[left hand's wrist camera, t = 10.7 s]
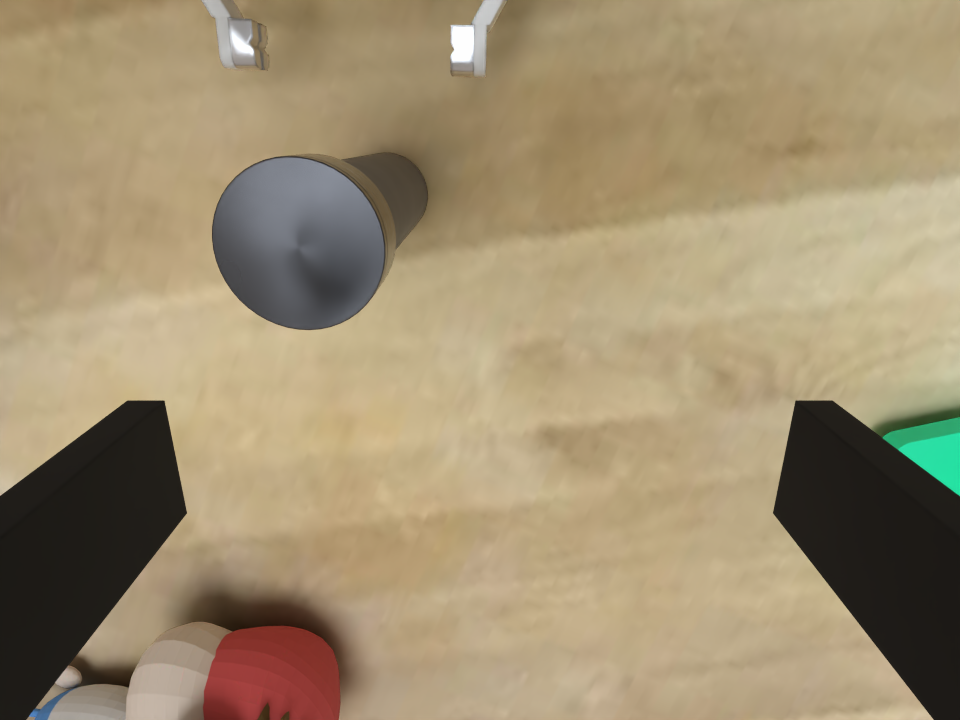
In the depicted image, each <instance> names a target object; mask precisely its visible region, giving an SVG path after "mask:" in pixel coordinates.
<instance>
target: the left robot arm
mask: <svg viewBox="0 0 960 720" xmlns="http://www.w3.org/2000/svg"><path fill="white" fill-rule="evenodd" d="M186 514H187V511H186V506H185V501H184V496H183V491H182V486H181V481H180V476H179V471H178V466H177V461H176V456H175V451H174V446H173V441H172V436H171V431H170V426H169V421H168V416H167V411H166V406H165V401H126V402H125V403H124V404H122V405H121V406H120V407H118V408H117V409H116V410H114V411H113V412H112V413H110V414H109V415H108V416H106V417H105V418H104V419H102V420H101V421H100V422H98V423H97V424H96V425H94V426H93V427H92V428H90V429H89V430H88V431H86V432H85V433H84V434H82V435H81V436H80V437H78V438H77V439H76V440H74V441H73V442H72V443H70V444H69V445H68V446H66V447H65V448H64V449H62V450H61V451H60V452H58V453H57V454H56V455H54V456H53V457H52V458H50V459H49V460H48V461H46V462H45V463H44V464H42V465H41V466H40V467H38V468H37V469H36V470H34V471H33V472H32V473H30V474H29V475H28V476H26V477H25V478H24V479H22V480H21V481H20V482H18V483H17V484H16V485H14V486H13V487H12V488H10V489H9V490H8V491H6V492H5V493H4V494H2V495H1V496H0V720H26V719H27V718H28V717H29V715H30V714H31V713H32V712H33V710H34V709H35V708H36V706H37V705H38V704H39V703H40V701H41V700H42V699H43V697H44V696H45V695H46V694H47V692H48V691H49V690H50V688H51V687H52V686H53V685H54V683H55V682H56V681H57V679H58V678H59V677H60V676H61V674H62V673H63V672H64V670H65V669H66V668H67V667H68V665H69V664H70V663H71V661H72V660H73V659H74V658H75V656H76V655H77V654H78V652H79V651H80V650H81V649H82V647H83V646H84V645H85V643H86V642H87V641H88V640H89V638H90V637H91V636H92V634H93V633H94V632H95V631H96V629H97V628H98V627H99V625H100V624H101V623H102V622H103V620H104V619H105V618H106V616H107V615H108V614H109V613H110V611H111V610H112V609H113V607H114V606H115V605H116V604H117V602H118V601H119V600H120V598H121V597H122V596H123V595H124V593H125V592H126V591H127V590H128V588H129V587H130V586H131V584H132V583H133V582H134V581H135V579H136V578H137V577H138V575H139V574H140V573H141V572H142V570H143V569H144V568H145V566H146V565H147V564H148V563H149V561H150V560H151V559H152V557H153V556H154V555H155V554H156V552H157V551H158V550H159V548H160V547H161V546H162V545H163V543H164V542H165V541H166V539H167V538H168V537H169V536H170V534H171V533H172V532H173V530H174V529H175V528H176V527H177V525H178V524H179V523H180V521H181V520H182V519H183V518H184V516H185V515H186ZM773 514H774V515H775V516H776V518H777V519H778V520H779V521H780V523H781V524H782V525H783V527H784V528H785V529H786V530H787V532H788V533H789V534H790V536H791V537H792V538H793V539H794V541H795V542H796V543H797V545H798V546H799V547H800V548H801V550H802V551H803V552H804V554H805V555H806V556H807V557H808V559H809V560H810V561H811V563H812V564H813V565H814V566H815V568H816V569H817V570H818V572H819V573H820V574H821V575H822V577H823V578H824V579H825V581H826V582H827V583H828V584H829V586H830V587H831V588H832V590H833V591H834V592H835V593H836V595H837V596H838V597H839V598H840V600H841V601H842V602H843V604H844V605H845V606H846V607H847V609H848V610H849V611H850V613H851V614H852V615H853V616H854V618H855V619H856V620H857V622H858V623H859V624H860V625H861V627H862V628H863V629H864V631H865V632H866V633H867V634H868V636H869V637H870V638H871V640H872V641H873V642H874V643H875V645H876V646H877V647H878V649H879V650H880V651H881V652H882V654H883V655H884V656H885V658H886V659H887V660H888V661H889V663H890V664H891V665H892V667H893V668H894V669H895V670H896V672H897V673H898V674H899V676H900V677H901V678H902V679H903V681H904V682H905V683H906V685H907V686H908V687H909V688H910V690H911V691H912V692H913V694H914V695H915V696H916V697H917V699H918V700H919V701H920V703H921V704H922V705H923V706H924V708H925V709H926V710H927V712H928V713H929V714H930V715H931V717H932V718H933V719H934V720H960V496H959V495H958V494H956V493H955V492H954V491H952V490H951V489H950V488H948V487H947V486H946V485H944V484H943V483H942V482H940V481H939V480H938V479H936V478H935V477H934V476H932V475H931V474H930V473H928V472H927V471H926V470H924V469H923V468H922V467H920V466H919V465H918V464H916V463H915V462H914V461H912V460H911V459H910V458H908V457H907V456H906V455H904V454H903V453H902V452H900V451H899V450H898V449H896V448H895V447H894V446H892V445H891V444H890V443H888V442H887V441H886V440H884V439H883V438H882V437H880V436H879V435H878V434H876V433H875V432H874V431H872V430H871V429H870V428H868V427H867V426H866V425H864V424H863V423H862V422H860V421H859V420H858V419H856V418H855V417H854V416H852V415H851V414H850V413H848V412H847V411H846V410H844V409H843V408H842V407H840V406H839V405H838V404H836V403H835V402H834V401H795V406H794V411H793V416H792V421H791V426H790V431H789V436H788V441H787V446H786V451H785V456H784V461H783V466H782V471H781V476H780V481H779V486H778V491H777V496H776V501H775V506H774V511H773Z"/></svg>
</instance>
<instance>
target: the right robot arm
mask: <svg viewBox="0 0 960 720" xmlns="http://www.w3.org/2000/svg"><path fill="white" fill-rule="evenodd" d="M202 2H203V4H204V5H205V7H206V8H207V10H208V12H209V13H210V15H211V16H212V17H213V18H215V21H216V29H217V38H218V47H219V55H220V60H221V62H222V65H223V66H224V67H225V68H228V69H232V70H250V71H268V68H269V55H268V53H267V52H266V51H265V48H266V46H267V44H268V41H267V30H266V26H264V25H262V24H259V23H257V22H256V21H254V20H252V19H244V18H243V16H242V14H241V12H240V11H239V9H238V7H237V5H236V4H235V2H234V0H202ZM506 2H507V0H483V2H482V4H481V6H480V8H479V10H478V12H477V13H476V15H475V17H474V19H473V21H472V23H471V25H451V46H452V48H453V50H454V51H453V53H452V54H451V75H452V76H458V77H485V76H486V47H487V32H490V31H491V29H492V27H493V26H494V24H495V22H496V20H497V18H498V16H499V15H500V13H501V11H502V9H503V7H504V6H505V4H506Z"/></svg>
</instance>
